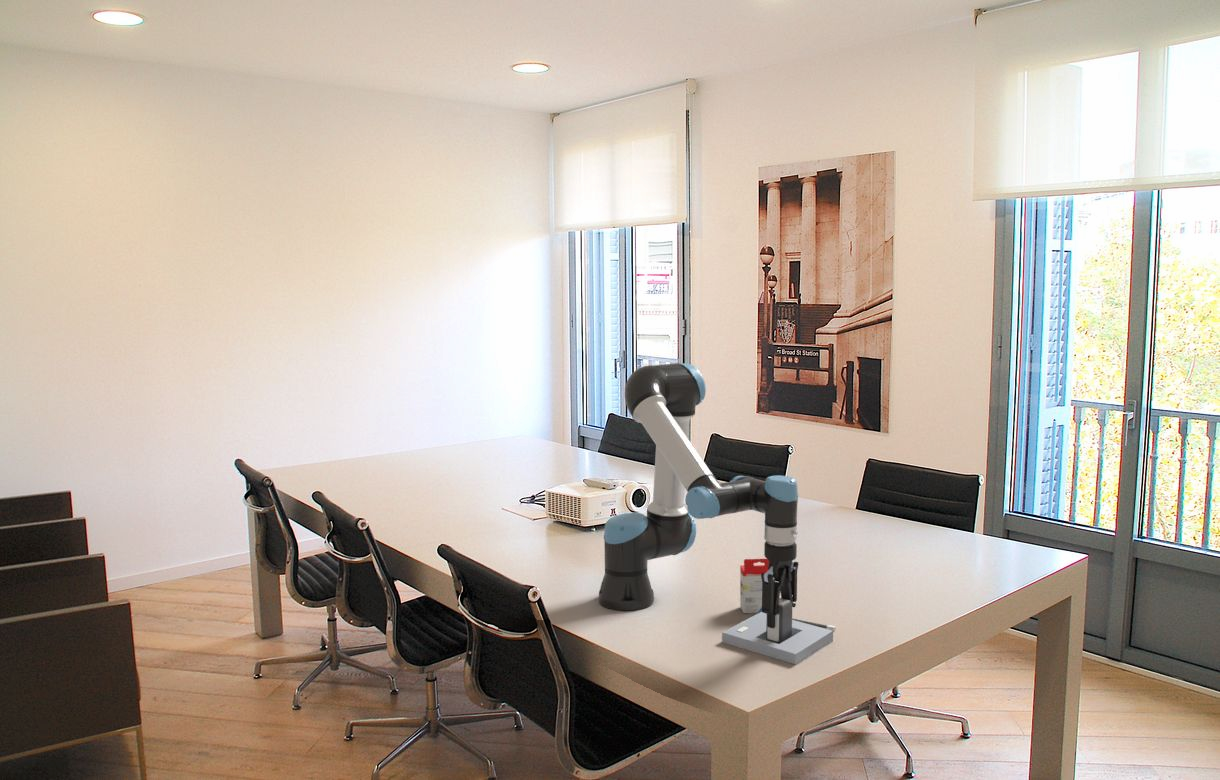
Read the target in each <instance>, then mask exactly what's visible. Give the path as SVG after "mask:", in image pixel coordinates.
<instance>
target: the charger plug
mask: <svg viewBox="0 0 1220 780" xmlns="http://www.w3.org/2000/svg"><path fill="white" fill-rule="evenodd" d="M777 614H779V641H778V642H777V641H773V640H770V639H767V622H766V641H770V642H773V643H777V644H780V643H782V642H784V641H785V640H787V639H789V638H790V637H792V618H793V607H792V602H790V601H789V600H785V599H781V597H779V604H778V611H777ZM767 620H768V615H767Z"/></svg>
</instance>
